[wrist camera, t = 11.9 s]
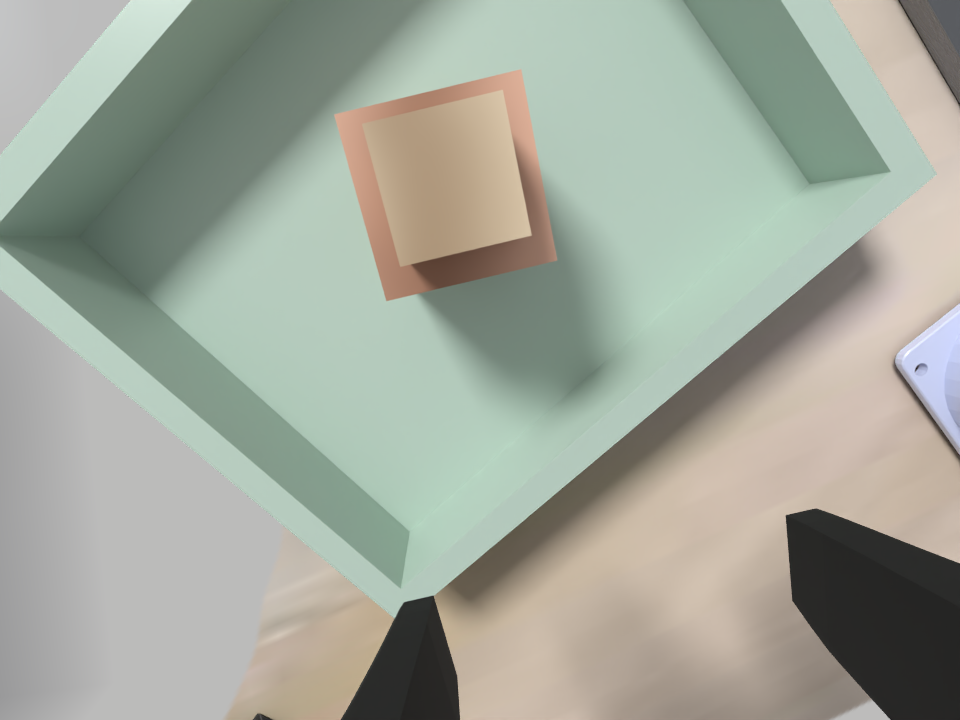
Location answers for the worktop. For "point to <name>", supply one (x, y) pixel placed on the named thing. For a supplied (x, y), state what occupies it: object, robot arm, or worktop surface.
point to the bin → (450, 310)
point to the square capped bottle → (449, 184)
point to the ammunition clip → (260, 717)
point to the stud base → (939, 34)
